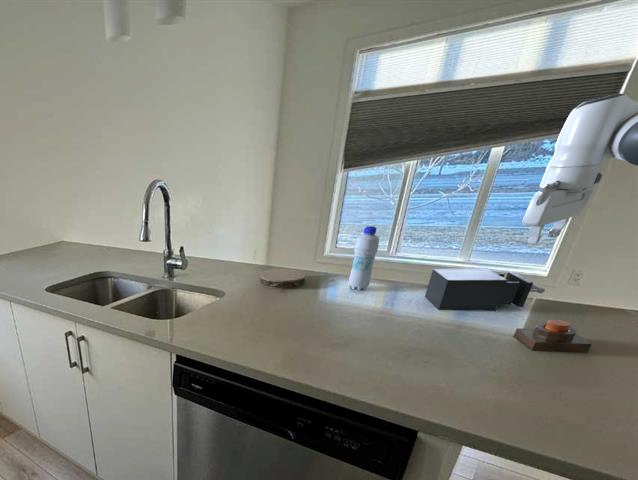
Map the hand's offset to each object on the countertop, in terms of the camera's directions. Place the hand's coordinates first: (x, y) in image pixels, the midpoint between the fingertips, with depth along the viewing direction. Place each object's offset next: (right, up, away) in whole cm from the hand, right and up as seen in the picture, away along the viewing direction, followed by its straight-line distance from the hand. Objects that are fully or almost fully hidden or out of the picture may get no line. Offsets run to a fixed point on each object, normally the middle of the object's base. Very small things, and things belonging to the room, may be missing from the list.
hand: (543, 239), depth 102 cm
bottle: (-28, -4, +34) cm, 44 cm away
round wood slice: (-49, +1, +47) cm, 67 cm away
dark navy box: (-8, -13, +16) cm, 22 cm away
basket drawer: (0, -13, +13) cm, 18 cm away
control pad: (-8, -28, -9) cm, 30 cm away
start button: (-8, -24, -11) cm, 28 cm away
